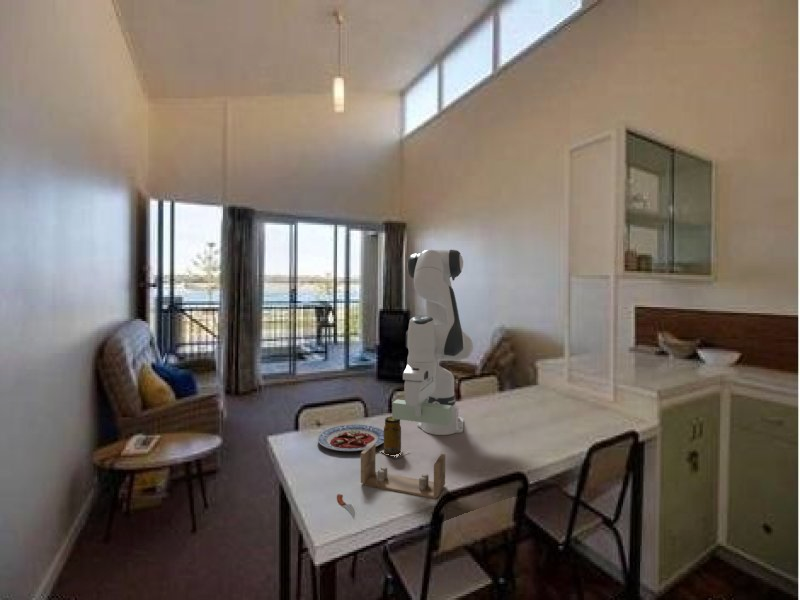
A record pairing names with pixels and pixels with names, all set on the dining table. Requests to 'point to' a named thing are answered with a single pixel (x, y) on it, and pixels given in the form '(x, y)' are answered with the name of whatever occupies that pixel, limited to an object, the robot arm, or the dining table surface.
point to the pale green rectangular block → (423, 412)
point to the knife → (347, 506)
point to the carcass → (398, 482)
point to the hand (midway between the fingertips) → (421, 413)
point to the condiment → (392, 437)
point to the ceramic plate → (351, 437)
